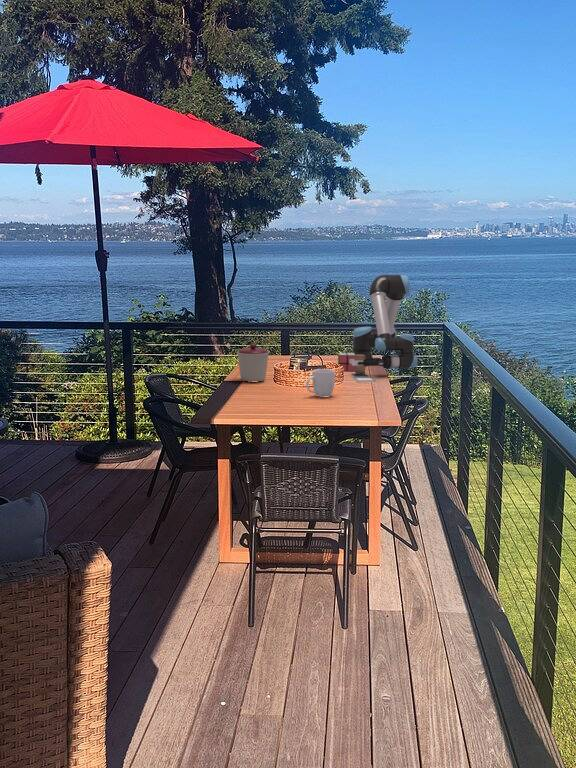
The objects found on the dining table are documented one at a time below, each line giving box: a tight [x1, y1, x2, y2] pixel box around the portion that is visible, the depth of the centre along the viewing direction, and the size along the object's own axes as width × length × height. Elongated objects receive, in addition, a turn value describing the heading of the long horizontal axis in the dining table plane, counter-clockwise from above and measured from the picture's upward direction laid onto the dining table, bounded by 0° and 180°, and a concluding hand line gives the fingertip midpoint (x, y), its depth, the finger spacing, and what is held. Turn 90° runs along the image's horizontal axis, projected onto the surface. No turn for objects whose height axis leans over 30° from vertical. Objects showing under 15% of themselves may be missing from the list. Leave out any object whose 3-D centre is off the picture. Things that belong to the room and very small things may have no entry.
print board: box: [351, 376, 377, 383], centre depth 446 cm, size 11×11×1 cm
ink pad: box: [349, 372, 370, 378], centre depth 457 cm, size 9×9×1 cm
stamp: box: [353, 355, 366, 374], centre depth 456 cm, size 5×5×10 cm
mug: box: [305, 368, 336, 397], centre depth 399 cm, size 15×11×13 cm
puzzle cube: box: [337, 352, 355, 373], centre depth 479 cm, size 10×10×10 cm
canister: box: [236, 343, 270, 382], centre depth 440 cm, size 18×18×21 cm
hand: (350, 362), depth 455 cm, fingers closed on stamp, 5 cm apart
